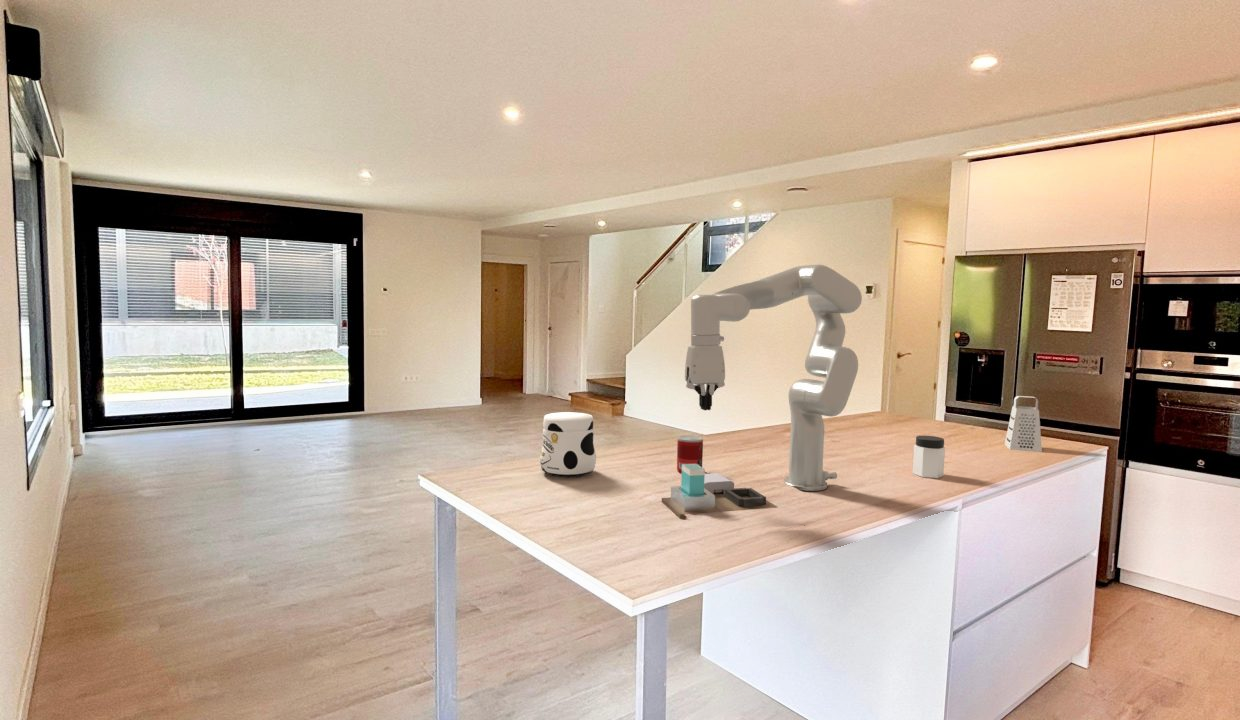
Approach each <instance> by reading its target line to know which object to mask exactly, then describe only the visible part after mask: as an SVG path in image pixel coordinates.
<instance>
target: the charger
mask: <svg viewBox="0 0 1240 720" xmlns="http://www.w3.org/2000/svg"><path fill="white" fill-rule="evenodd" d="M704 488H705V489H706V490H707V491H709V492H710V493H712V494H713V495H715V494H714V493H722V494H725V490H728V489H735V482H734V481H732V480H731V479H730V478H727V477H726V476H724V475H722V474H720V473H715V472H714V473H712V472H711V473H705V477H704Z"/></svg>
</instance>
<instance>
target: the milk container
mask: <svg viewBox="0 0 1240 720" xmlns="http://www.w3.org/2000/svg"><path fill="white" fill-rule="evenodd" d="M542 421H543V423H542V428H543V429H542V440H543V441H542V447H541V451H540V455H539V463H540V468H541V470H542V471H543V472H545V474H547V475H550V476H554V477H559V478H560V477H562V478H575V477H582V476H586V475H588V474H590V473H592V472H593V471H594V469H595V468H596V462H597V454H596V449H595V445H594V434H595V433H594V432H595V430H594V417H593V415H592V414H589V413H584V412H572V411H570V412H569V411H567V412H563V411H562V412H551V413H548V414H545V415H543V420H542Z"/></svg>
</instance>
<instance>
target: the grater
mask: <svg viewBox="0 0 1240 720" xmlns="http://www.w3.org/2000/svg"><path fill="white" fill-rule="evenodd" d="M1019 398H1028V399H1029V398H1031V399H1032V398H1033V399H1035V407H1034V406H1024V405H1023V406H1022V405H1021V406H1020V405H1017V399H1019ZM1041 433H1042V432H1041V421H1040V410H1039V400H1038V398H1037V397H1035V396H1027V395H1025V396H1024V395H1016V396H1015V397H1014V399H1013V405H1012V408H1011V412H1010V417H1009V421H1008V427H1007V431H1006V437H1005V441H1004V445H1005V446H1006V448H1007V449H1009V450H1010V451H1025V452H1034V453H1035V452H1037V453H1043V450H1042V449H1043V448H1042V435H1041ZM1031 447H1032V448H1031Z"/></svg>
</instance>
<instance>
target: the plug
mask: <svg viewBox="0 0 1240 720" xmlns="http://www.w3.org/2000/svg"><path fill="white" fill-rule="evenodd" d="M705 471H706V469H705V468H703V466H702V467H701V466H699V465H698V464H682V474H681V480H680V481H681V482H680V483H681V491H683V492H684V493H685V494H687V495H688V496H693V495H704V477H705V474H706V472H705Z"/></svg>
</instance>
